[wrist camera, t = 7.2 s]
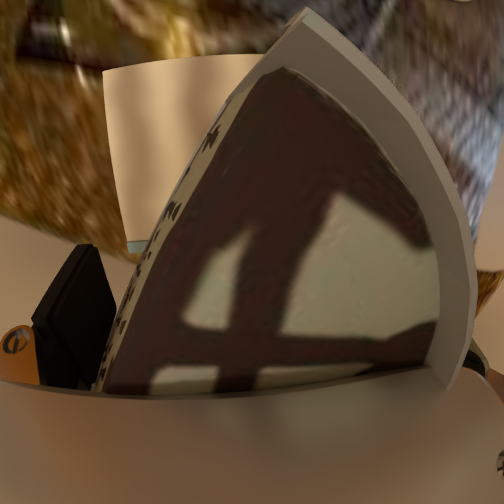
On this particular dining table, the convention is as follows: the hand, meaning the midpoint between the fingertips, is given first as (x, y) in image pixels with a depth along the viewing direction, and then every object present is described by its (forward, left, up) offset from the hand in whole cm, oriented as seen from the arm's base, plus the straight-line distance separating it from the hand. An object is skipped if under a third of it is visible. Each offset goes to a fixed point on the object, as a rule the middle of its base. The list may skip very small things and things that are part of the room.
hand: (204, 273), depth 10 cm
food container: (-1, 0, -3) cm, 3 cm away
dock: (0, 0, -21) cm, 21 cm away
